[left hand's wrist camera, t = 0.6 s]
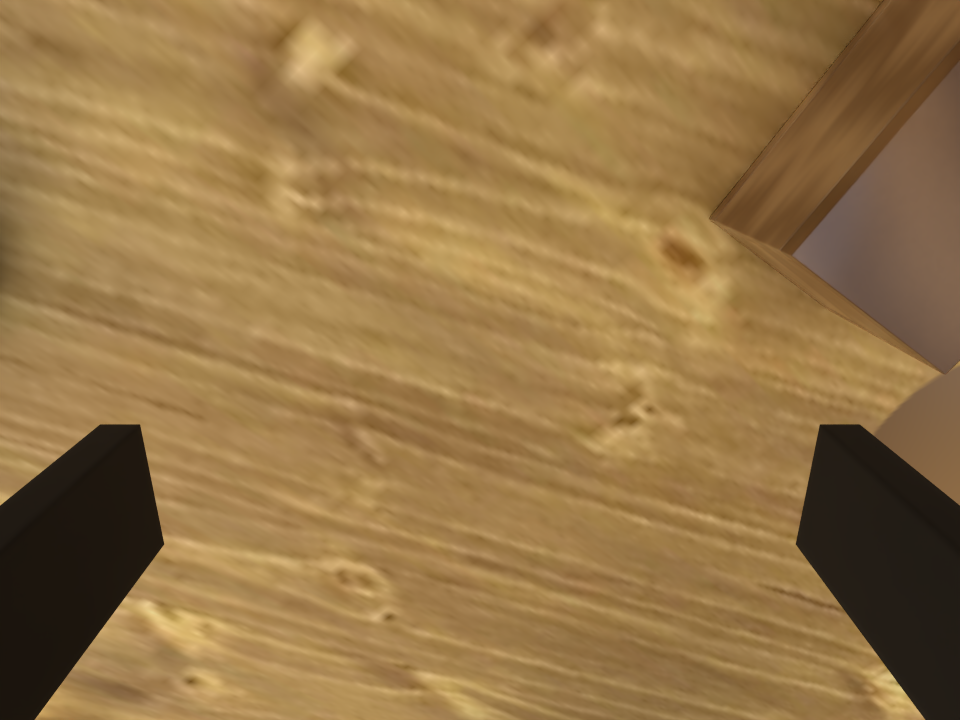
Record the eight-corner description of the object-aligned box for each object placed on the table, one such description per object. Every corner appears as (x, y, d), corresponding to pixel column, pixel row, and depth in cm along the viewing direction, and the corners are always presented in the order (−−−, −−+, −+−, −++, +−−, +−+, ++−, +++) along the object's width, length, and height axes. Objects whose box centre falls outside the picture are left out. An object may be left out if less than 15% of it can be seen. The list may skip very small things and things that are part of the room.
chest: (937, -68, 32) (1107, -137, 23) (1061, 52, 34) (1262, 31, 25) (708, 218, 37) (778, 250, 28) (828, 309, 39) (928, 366, 30)
